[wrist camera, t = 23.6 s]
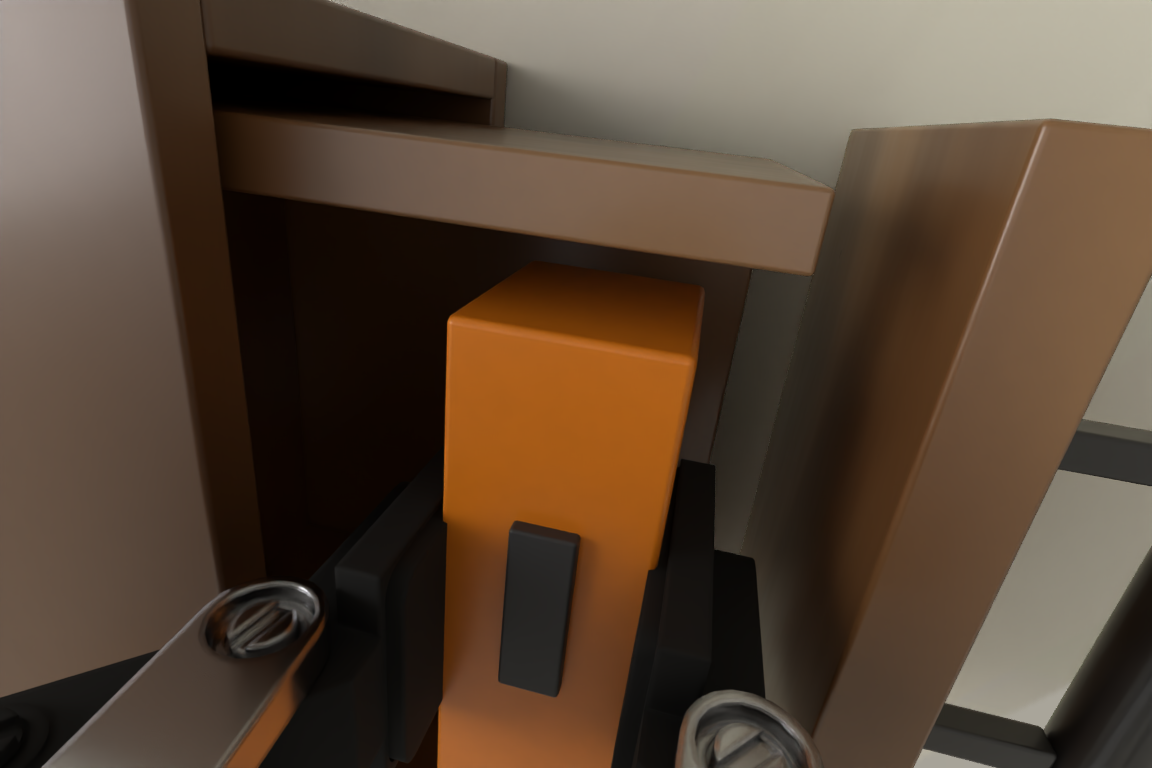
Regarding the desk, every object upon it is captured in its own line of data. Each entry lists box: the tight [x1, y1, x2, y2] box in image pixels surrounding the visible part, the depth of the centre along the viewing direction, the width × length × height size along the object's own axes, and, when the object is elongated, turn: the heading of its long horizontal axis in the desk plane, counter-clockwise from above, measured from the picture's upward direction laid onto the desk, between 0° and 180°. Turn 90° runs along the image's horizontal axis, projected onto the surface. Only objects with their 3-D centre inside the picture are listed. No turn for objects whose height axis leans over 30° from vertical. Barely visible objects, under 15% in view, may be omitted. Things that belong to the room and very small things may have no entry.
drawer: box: [211, 94, 1152, 768], centre depth 11 cm, size 18×13×8 cm
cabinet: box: [0, 0, 507, 698], centre depth 13 cm, size 15×14×10 cm
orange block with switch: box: [437, 260, 705, 768], centre depth 9 cm, size 9×3×3 cm, turn 174°
